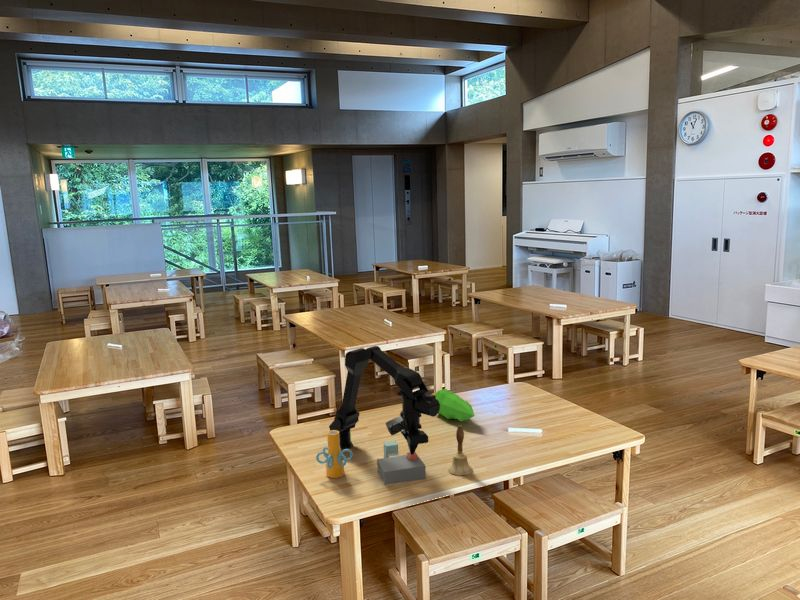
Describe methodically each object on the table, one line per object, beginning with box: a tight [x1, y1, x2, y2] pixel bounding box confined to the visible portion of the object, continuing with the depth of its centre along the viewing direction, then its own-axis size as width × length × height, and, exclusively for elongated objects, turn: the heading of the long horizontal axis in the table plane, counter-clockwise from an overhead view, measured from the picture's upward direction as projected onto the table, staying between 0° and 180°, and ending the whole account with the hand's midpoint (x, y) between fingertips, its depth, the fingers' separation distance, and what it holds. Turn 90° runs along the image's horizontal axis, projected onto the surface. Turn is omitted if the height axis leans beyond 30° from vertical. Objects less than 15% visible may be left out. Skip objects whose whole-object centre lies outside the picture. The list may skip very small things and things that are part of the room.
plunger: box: [406, 451, 418, 461], centre depth 203 cm, size 3×3×5 cm
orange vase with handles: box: [315, 430, 353, 479], centre depth 201 cm, size 12×10×15 cm
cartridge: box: [383, 440, 400, 458], centre depth 205 cm, size 18×4×6 cm, turn 16°
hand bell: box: [447, 424, 474, 477], centre depth 201 cm, size 8×8×16 cm
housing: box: [376, 454, 427, 486], centre depth 200 cm, size 10×14×5 cm
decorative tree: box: [430, 388, 475, 422], centre depth 248 cm, size 11×12×30 cm
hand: (412, 453), depth 202 cm, fingers closed
